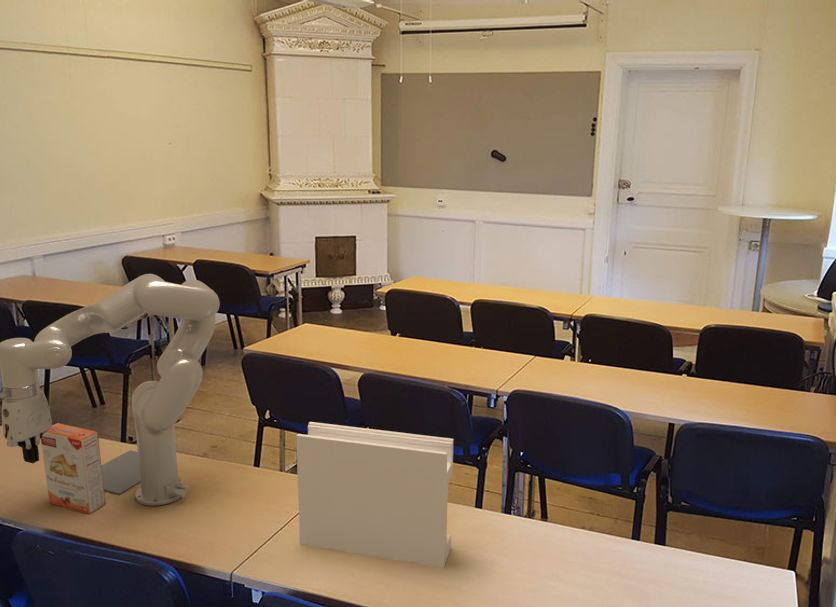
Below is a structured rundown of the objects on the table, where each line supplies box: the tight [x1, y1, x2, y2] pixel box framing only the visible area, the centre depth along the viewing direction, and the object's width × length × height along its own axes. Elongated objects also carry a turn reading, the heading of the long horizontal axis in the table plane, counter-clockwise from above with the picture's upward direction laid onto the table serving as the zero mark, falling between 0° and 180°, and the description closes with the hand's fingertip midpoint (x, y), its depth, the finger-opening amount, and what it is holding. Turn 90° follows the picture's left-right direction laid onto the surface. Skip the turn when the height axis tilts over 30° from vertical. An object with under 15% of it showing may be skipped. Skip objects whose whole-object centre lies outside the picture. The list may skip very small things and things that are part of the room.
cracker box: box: [40, 422, 107, 515], centre depth 185 cm, size 14×6×21 cm, turn 68°
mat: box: [101, 449, 141, 497], centre depth 205 cm, size 17×21×1 cm
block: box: [295, 421, 454, 568], centre depth 167 cm, size 35×8×28 cm, turn 75°
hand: (31, 461), depth 175 cm, fingers closed
